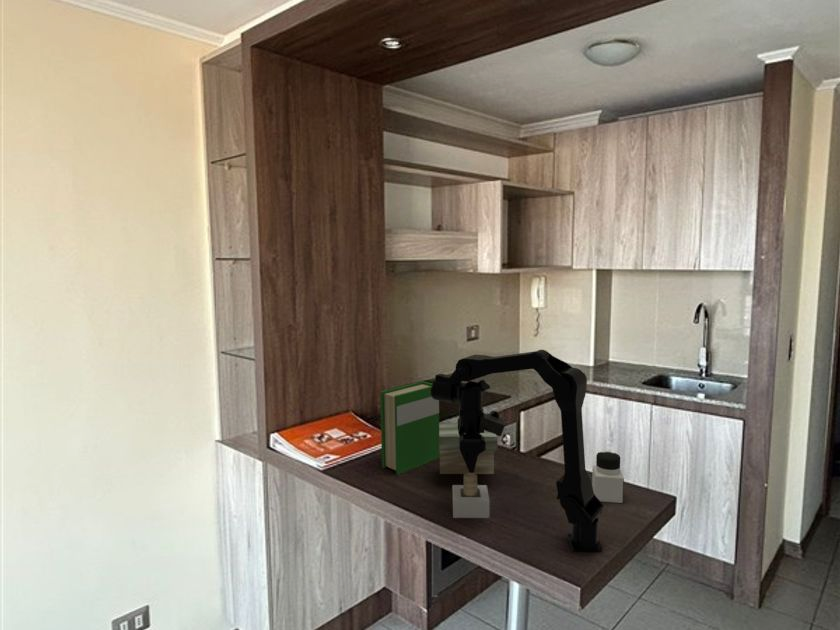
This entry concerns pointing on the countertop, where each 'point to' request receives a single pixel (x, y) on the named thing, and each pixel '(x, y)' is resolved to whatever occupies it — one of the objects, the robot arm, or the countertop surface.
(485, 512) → the socket block
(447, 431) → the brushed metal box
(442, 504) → the countertop surface
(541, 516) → the countertop surface
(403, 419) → the hardback book
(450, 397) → the robot arm
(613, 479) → the medicine bottle
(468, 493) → the peg
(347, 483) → the countertop surface
